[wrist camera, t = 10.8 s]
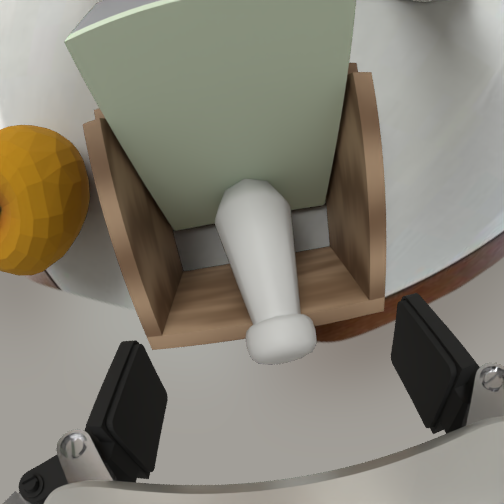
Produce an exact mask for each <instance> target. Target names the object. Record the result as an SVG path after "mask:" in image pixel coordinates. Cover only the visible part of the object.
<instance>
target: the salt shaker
mask: <svg viewBox="0 0 504 504" xmlns="http://www.w3.org/2000/svg"><path fill="white" fill-rule="evenodd" d="M215 226H216V229H217V231H218V234H219V237H220V239H221V242H222V245H223V248H224V250H225V253H226V256H227V258H228V261H229V263H230V266H231V269H232V271H233V274H234V277H235V279H236V282H237V285H238V287H239V290H240V292H241V295H242V298H243V300H244V303H245V305H246V308H247V310H248V313H249V316H250V318H251V321H252V323H253V325H252V326H251V327H250V328H249V329H248V330H247V332H246V344H247V349H248V352H249V354H250V357H251V358H252V360H254V361H255V362H257V363H258V364H268V365H273V364H281V363H287V362H290V361H294V360H297V359H300V358H302V357H304V356H306V355H307V354H309V353H311V352H312V351H313V349H314V347H315V346H316V331H315V328H314V324H313V321H312V320H311V318H310V317H308V316H306V315H304V314H301V311H300V299H299V288H298V278H297V267H296V257H295V248H294V238H293V229H292V218H291V207H290V205H289V203H288V202H287V201H286V199H285V198H284V197H283V196H282V195H281V194H280V193H279V192H278V191H277V190H276V189H275V188H274V187H273V186H272V185H271V184H270V183H269V182H268V181H264V180H254V179H243V180H241V181H240V182H238V183H236V184H235V185H233V186H231V187H230V188H228V189H227V190H225V192H224V195H223V197H222V200H221V203H220V205H219V208H218V211H217V214H216V218H215Z"/></svg>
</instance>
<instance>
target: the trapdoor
mask: <svg viewBox="0 0 504 504" xmlns="http://www.w3.org/2000/svg"><path fill="white" fill-rule="evenodd" d="M355 6H356V0H103V1H101V2H98V3H96V4H95V6H94V7H93V8H92V9H91V10H90V11H89V12H88V13H87V15H86V16H85V17H84V18H83V19H82V20H81V22H80V23H79V24H78V25H77V26H76V28H75V29H74V30H73V31H72V33H71V34H70V35H69V36H68V38H67V39H66V40H65V42H64V43H65V45H66V47H67V49H68V50H69V52H70V54H71V56H72V58H73V60H74V62H75V64H76V66H77V68H78V70H79V72H80V73H81V75H82V77H83V79H84V81H85V83H86V85H87V86H88V88H89V90H90V92H91V94H92V95H93V97H94V99H95V101H96V103H97V104H98V106H99V108H100V110H101V112H102V113H103V115H104V117H105V119H106V120H107V122H108V124H109V126H110V127H111V129H112V131H113V132H114V134H115V136H116V138H117V139H118V141H119V143H120V144H121V146H122V148H123V149H124V151H125V153H126V154H127V156H128V158H129V159H130V161H131V163H132V164H133V166H134V168H135V169H136V171H137V173H138V174H139V176H140V177H141V179H142V181H143V182H144V184H145V185H146V187H147V189H148V190H149V192H150V193H151V195H152V197H153V198H154V200H155V201H156V203H157V205H158V206H159V208H160V209H161V211H162V212H163V214H164V215H165V217H166V219H167V220H168V222H169V223H170V225H171V226H172V228H173V229H174V231H177V230H182V229H187V228H192V227H198V226H203V225H208V224H214V223H215V218H216V214H217V211H218V208H219V205H220V203H221V200H222V197H223V195H224V192H225V190H227V189H228V188H230V187H231V186H233V185H235V184H236V183H238V182H240V181H241V180H243V179H254V180H264V181H268V182H269V183H270V184H271V185H272V186H273V187H274V188H275V189H276V190H277V191H278V192H279V193H280V194H281V195H282V196H283V197H284V198H285V199H286V201H287V202H288V203H289V205H290V207H291V210H295V209H301V208H308V207H314V206H321V205H324V204H325V199H326V194H327V189H328V184H329V179H330V174H331V169H332V164H333V159H334V153H335V148H336V142H337V137H338V131H339V125H340V119H341V113H342V107H343V101H344V94H345V88H346V81H347V74H348V66H349V59H350V51H351V43H352V35H353V26H354V16H355Z"/></svg>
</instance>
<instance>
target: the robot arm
mask: <svg viewBox="0 0 504 504" xmlns="http://www.w3.org/2000/svg"><path fill="white" fill-rule="evenodd" d="M413 1H419V2H428V1H432V0H413ZM391 360H392V364H393V366H394V367H395V369H396V371H397V373H398V375H399V376H400V378H401V380H402V382H403V384H404V386H405V388H406V390H407V392H408V394H409V395H410V397H411V399H412V401H413V403H414V405H415V407H416V409H417V411H418V413H419V415H420V417H421V419H422V421H423V423H424V425H425V427H426V428H430V429H431V431H432V433H433V434H435V433H437V432H439V431H441V430H445V432H446V434H445V435H443V436H440V437H438V438H435V439H433V440H430V441H427V442H425V443H422V444H420V445H417V446H414V447H411V448H408V449H406V450H403V451H400V452H397V453H394V454H391V455H388V456H385V457H382V458H379V459H375V460H372V461H368V462H365V463H361V464H357V465H353V466H349V467H345V468H341V469H337V470H332V471H328V472H323V473H318V474H313V475H307V476H302V477H295V478H289V479H282V480H274V481H266V482H256V483H245V484H229V485H164V484H163V485H162V484H146V483H136V479H137V478H144V479H149V475H150V472H153V470H154V468H155V462H156V456H157V450H158V445H159V439H160V434H161V429H162V424H163V419H164V414H165V409H166V404H167V393H166V390H165V388H164V386H163V385H162V383H161V381H160V379H159V377H158V375H157V373H156V371H155V369H154V367H153V365H152V363H151V361H150V359H149V356H148V354H147V352H146V350H145V348H144V346H143V345H142V344H139V343H138V342H137V341H123V342H121V344H120V346H119V348H118V350H117V352H116V355H115V357H114V359H113V362H112V364H111V366H110V368H109V370H108V373H107V375H106V378H105V380H104V382H103V384H102V387H101V389H100V392H99V394H98V396H97V399H96V401H95V404H94V406H93V409H92V411H91V414H90V416H89V419H88V422H87V424H86V428H85V431H84V430H80V429H75V430H71V431H68V432H67V433H65V434H64V435H63V436H62V437H61V438H60V439H59V441H58V443H57V455H56V456H54V457H52V458H51V459H49V460H47V461H46V462H44V463H42V464H40V465H39V466H37V467H35V468H33V469H31V470H30V471H28V472H26V473H25V474H24V475H23V477H22V478H21V480H20V482H19V491H20V492H19V493H17V492H16V491H15V492H14V493H13V494H12V495H11V496H10V497H9V498H8V499H7V500H6V501H5V502H4V503H3V504H504V366H502V365H500V364H497V363H487V364H484V365H482V366H481V367H479V366H478V364H477V363H476V362H475V361H474V359H473V358H472V357H471V355H470V354H469V353H468V352H467V350H466V349H465V348H464V347H463V345H462V344H461V343H460V342H459V340H458V339H457V338H456V337H455V336H454V334H453V333H452V332H451V331H450V330H449V328H448V327H447V326H446V325H445V324H444V323H443V322H442V321H441V319H440V318H439V317H438V316H437V315H436V313H435V312H434V311H433V310H432V309H431V308H430V307H429V305H428V304H427V303H426V302H425V301H424V300H423V299H422V298H421V296H420V295H419V294H417V293H415V294H411V295H407V296H403V297H402V299H401V301H399V302H398V305H397V314H396V323H395V331H394V338H393V345H392V352H391Z"/></svg>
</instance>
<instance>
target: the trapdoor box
mask: <svg viewBox="0 0 504 504" xmlns="http://www.w3.org/2000/svg"><path fill="white" fill-rule="evenodd" d="M94 114H95V119H96V120H93V121H90V122H88V123H85V124H83V129H84V135H85V140H86V145H87V150H88V154H89V159H90V163H91V168H92V172H93V176H94V181H95V185H96V189H97V193H98V196H99V200H100V204H101V208H102V211H103V215H104V218H105V222H106V225H107V228H108V232H109V235H110V238H111V241H112V245H113V248H114V251H115V254H116V257H117V260H118V263H119V266H120V269H121V272H122V275H123V277H124V280H125V283H126V286H127V288H128V291H129V294H130V296H131V299H132V302H133V304H134V307H135V309H136V312H137V314H138V317H139V319H140V322H141V324H142V327H143V329H144V331H145V334H146V336H147V338H148V341H149V343H150V345H151V348H152V350H156V349H166V348H175V347H185V346H194V345H202V344H209V343H217V342H225V341H232V340H239V339H246V332H247V330H248V329H249V328H250V327H251V326H252V325H253V323H252V321H251V318H250V316H249V313H248V310H247V308H246V305H245V303H244V300H243V298H242V295H241V292H240V290H239V287H238V285H237V282H236V279H235V277H234V274H233V271H232V269H231V266H230V264H225V265H219V266H213V267H208V268H202V269H196V270H190V271H184V272H183V268H182V265H181V261H180V258H179V254H178V250H177V247H176V243H175V239H174V235H173V231H172V227H171V225H170V223H169V222H168V220H167V219H166V217H165V215H164V214H163V212H162V211H161V209H160V208H159V206H158V205H157V203H156V201H155V200H154V198H153V197H152V195H151V193H150V192H149V190H148V189H147V187H146V185H145V184H144V182H143V181H142V179H141V177H140V176H139V174H138V173H137V171H136V169H135V168H134V166H133V164H132V163H131V161H130V159H129V158H128V156H127V154H126V153H125V151H124V149H123V148H122V146H121V144H120V143H119V141H118V139H117V138H116V136H115V134H114V132H113V131H112V129H111V127H110V126H109V124H108V122H107V120H106V119H105V117H104V115H103V113H102V112H101V110H100V108H99V109H96V110H94ZM326 206H327V216H328V228H329V240H330V246H329V247H323V248H318V249H312V250H306V251H301V252H295V257H296V267H297V278H298V288H299V299H300V311H301V314H304V315H306V316H308V317H310V318H311V320H312V321H313V324H314V326H319V325H324V324H328V323H333V322H338V321H342V320H347V319H351V318H356V317H360V316H364V315H368V314H373V313H377V312H381V311H384V298H385V277H386V203H385V182H384V168H383V155H382V145H381V135H380V126H379V118H378V111H377V104H376V97H375V91H374V85H373V79H372V73H371V72H358V69H357V64H356V63H349V66H348V74H347V81H346V88H345V94H344V101H343V107H342V113H341V119H340V125H339V131H338V137H337V142H336V148H335V153H334V159H333V164H332V169H331V174H330V179H329V184H328V189H327V194H326Z"/></svg>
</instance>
